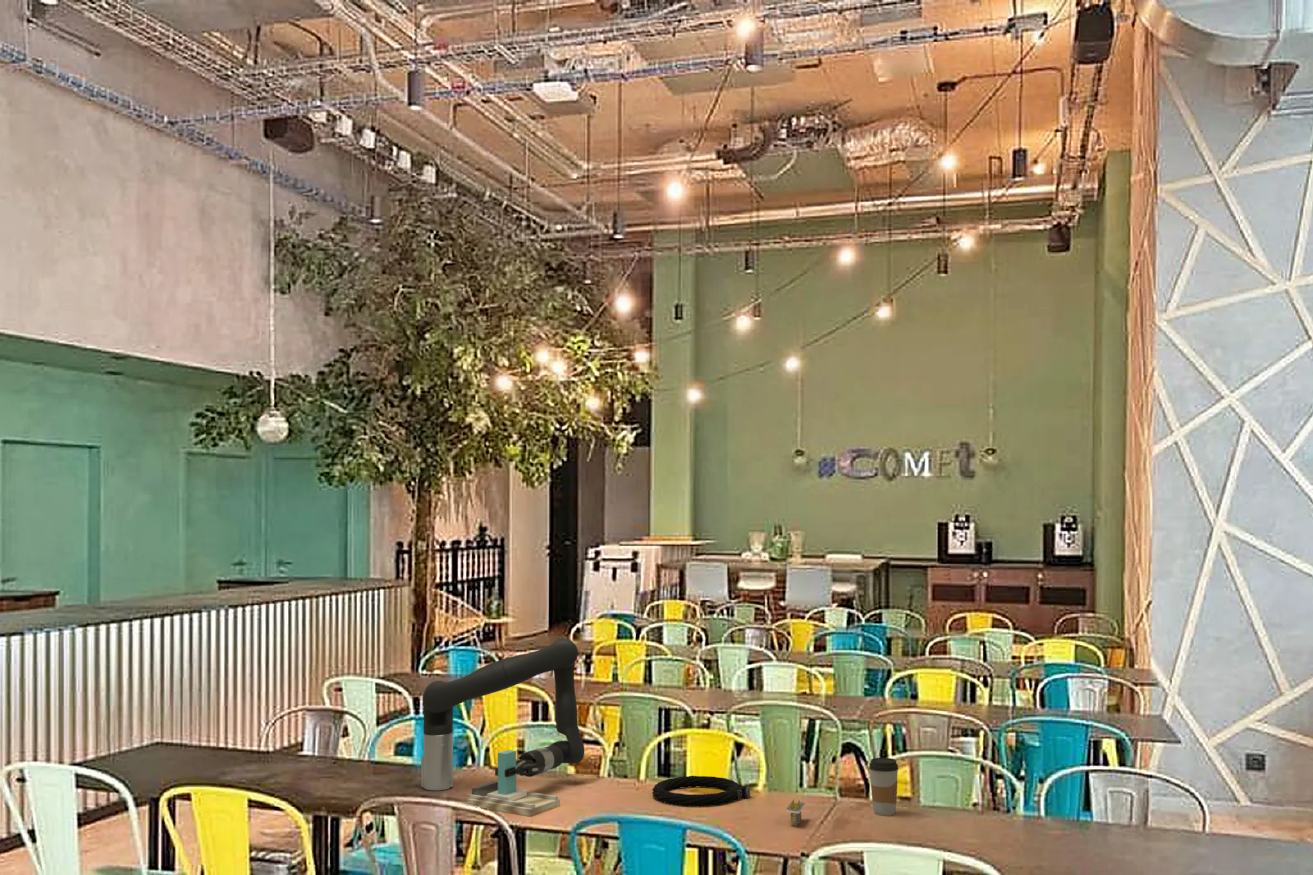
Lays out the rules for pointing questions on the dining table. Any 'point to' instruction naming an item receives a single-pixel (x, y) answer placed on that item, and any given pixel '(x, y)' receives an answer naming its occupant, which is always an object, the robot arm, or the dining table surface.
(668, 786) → the cable lock
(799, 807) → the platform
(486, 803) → the rail board
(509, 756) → the post
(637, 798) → the dining table surface
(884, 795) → the coffee cup
